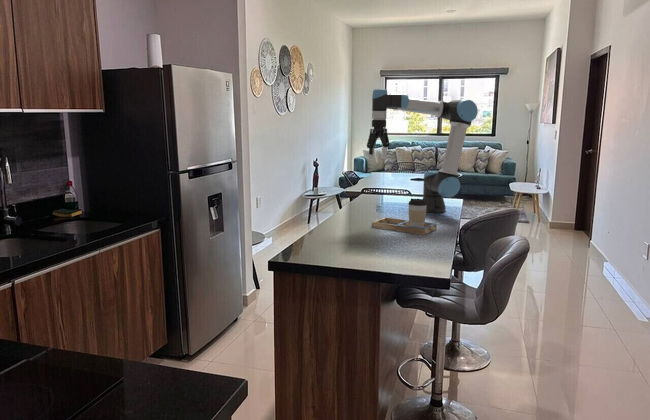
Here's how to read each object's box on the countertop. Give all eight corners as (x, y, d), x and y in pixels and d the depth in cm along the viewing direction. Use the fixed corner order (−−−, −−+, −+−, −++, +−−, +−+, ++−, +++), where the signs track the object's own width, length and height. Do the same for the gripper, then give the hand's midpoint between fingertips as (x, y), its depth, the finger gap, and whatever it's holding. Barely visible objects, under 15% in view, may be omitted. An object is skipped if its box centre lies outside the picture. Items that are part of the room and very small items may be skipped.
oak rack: (386, 221, 255) (386, 216, 254) (436, 229, 239) (436, 223, 238) (371, 226, 243) (371, 221, 243) (423, 234, 227) (423, 228, 226)
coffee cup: (427, 228, 240) (428, 198, 237) (424, 232, 231) (426, 201, 228) (408, 226, 243) (410, 197, 240) (405, 230, 234) (406, 199, 231)
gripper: (384, 119, 267) (383, 158, 271) (360, 119, 247) (359, 161, 251) (396, 119, 263) (395, 158, 266) (373, 119, 243) (372, 161, 247)
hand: (378, 160), depth 259 cm, fingers open, 13 cm apart
